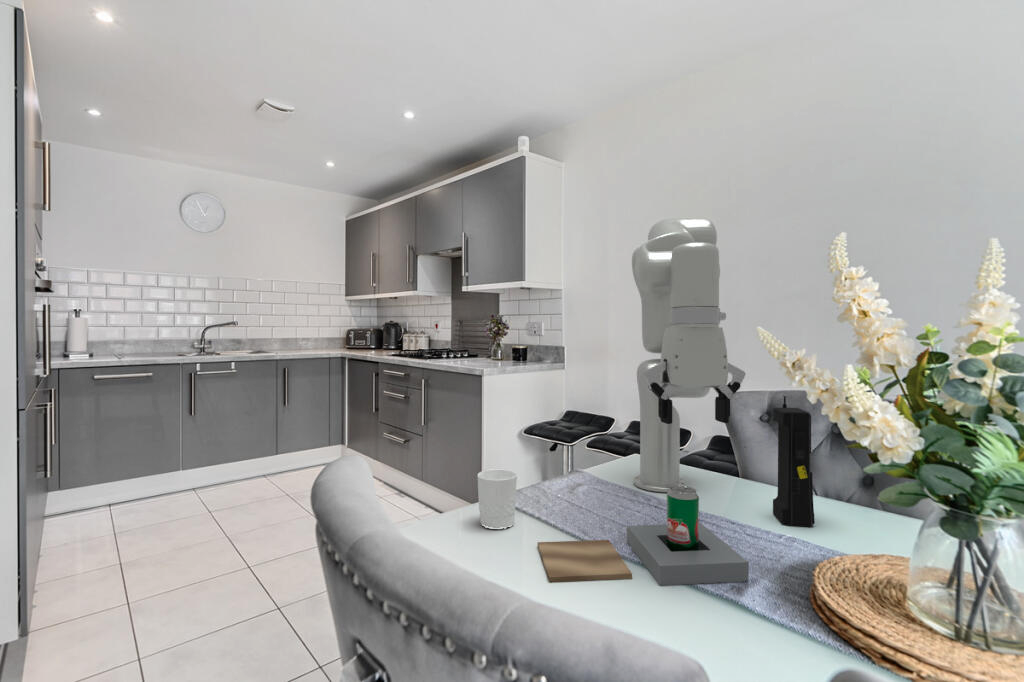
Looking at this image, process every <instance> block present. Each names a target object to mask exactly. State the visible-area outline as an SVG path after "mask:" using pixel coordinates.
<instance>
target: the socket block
mask: <svg viewBox="0 0 1024 682" xmlns="http://www.w3.org/2000/svg"><path fill="white" fill-rule="evenodd" d="M627 542H628V543H629V544H630V546H631V547H632V548H631V547H630V546H629V547H630V548H631V550H632V549H633V550H634V551H633V550H632V551H633V552H634V554H635V553H636V554H637V555H636V554H635V555H636V556H637V558H638V559H639V558H640V559H641V560H640V559H639V560H640V562H641V563H642V562H643V563H642V564H643V565H644V567H645V569H647V570H648V572H649V573H650V575H651V576H652V577H653V578H654V579H655V581H656V582H657V584H658V585H659V586H677V585H678V586H680V585H681V586H683V585H685V586H686V585H699V583H707V584H719V583H718V582H729V583H743V581H744V583H746V582H745V581H749V576H750V575H749V574H750V572H749V569H750V568H749V561H748V560H747V559H745V558H744V557H743V556H742V555H740V554H739V553H738V552H737V551H736V550H735V549H733V548H732V547H731V546H729V545H728V544H727V543H726V542H725V541H723V540H722V539H720V538H719V537H718V536H717V535H716V534H714V532H712V531H711V530H709V528H707V527H706V526H704V525H703V524H702V523H701V522H700V523H699V551H676V552H671V551H670V550H669V549H668V547H667V524H645V525H644V524H643V525H626V543H627ZM628 543H627V544H628ZM629 544H628V545H629ZM716 582H717V583H716Z"/></svg>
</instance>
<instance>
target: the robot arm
mask: <svg viewBox="0 0 1024 682" xmlns="http://www.w3.org/2000/svg"><path fill="white" fill-rule="evenodd" d="M717 240H718V235H717V229H716V226H715V224H714V223H713V222H712V220H710V219H708V218H705V217H692V218H691V217H690V218H689V217H687V218H685V217H684V218H666V219H661V220H659V221H657V222H655V224H653V225H652V226H651V228H650V229H649V232H648V235H647V241H645V242H643V243H642V244H641V245H640V246H638V247H637V248H636V249H634V251H633V252H632V255H631V271H632V276H633V279H634V282H635V285H636V288H637V290H638V293H639V296H640V301H641V302H640V303H641V333H642V335H641V337H642V345H643V348H644V350H645V352H646V351H647V352H648V353H651V354H660V358H651V359H647V360H644V361H642V362H641V363H640V364H638V366H637V370H636V383H637V387H638V388H637V390H638V397H639V424H640V425H639V426H640V427H639V430H640V431H639V434H640V435H639V436H640V437H639V439H640V440H639V442H640V443H639V450H640V451H639V453H640V454H639V475H637V476H635V477H633V485H635V487H637V488H640V489H641V490H645V491H649V492H656V493H668V492H669V491H670V490H669V488H670V487H672V486H687V482H686V481H685V480H684V479H682V478H680V474H681V473H680V462H681V461H680V454H681V452H680V451H681V450H680V449H681V446H680V445H681V443H680V440H681V437H680V435H681V434H680V433H681V428H680V427H681V424H680V423H681V422H680V421H681V418H680V414H679V412H678V410H677V409H676V407H675V406H674V405H673V400H672V399H677V398H680V399H681V398H683V399H685V398H687V399H698V398H700V399H701V398H705V397H706V396H707V395H708V394H709V392H710V390H711V388H712V389H713V390H714V391H715V392H716V393H717V395H718V396H715V399H714V404H715V405H714V419H715V421H717V422H720V423H722V424H728V423H729V422H730V417H731V399H733V398H734V397H735V394H736V392H738V391H739V390H740V388H741V384H742V383H743V381H744V379H745V377H746V372H745V371H744V370H742V369H741V368H739V367H737V366H735V365H733V364H731V363H729V361H728V350H727V342H726V338H725V333H724V332H725V331H724V329H723V327H720V324H721V322H722V321H725V320H726V318H727V313H726V312H725V311H724V312H723V311H721V308H720V277H721V266H720V251H719V248H718V246H717ZM729 374H730V375H732V378H731V381H730V382H728V379H729Z"/></svg>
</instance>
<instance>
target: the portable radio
mask: <svg viewBox="0 0 1024 682" xmlns="http://www.w3.org/2000/svg"><path fill="white" fill-rule="evenodd" d="M782 397H783V403H782V407H774V408H773V420H772V421H774V422H776V423H777V425H778V426H777V428H778V429H777V435H778V436H777V437H778V438H777V496H776V498H772V514H773V516H774V517H775V518H776V519H777V520H778V521H779V523H780V524H781V525H786V526H793V527H804V528H805V527H808V528H811V527H813V525H815V522H816V521H815V510H814V489H813V485H814V484H813V472H811V454H812V415H811V413H810V412H809V411H806V410H804V409H801V408H799V407H788V405H787V403H786V401H787V400H786V397H787V395H783V396H782Z"/></svg>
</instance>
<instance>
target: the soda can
mask: <svg viewBox="0 0 1024 682" xmlns="http://www.w3.org/2000/svg"><path fill="white" fill-rule="evenodd" d="M669 490H670V491H669V492H666V525H667V547H668V549H669V550H670V551H671V552H676V551H699V522H700V515H699V513H700V504H699V502H700V496H699V495H698V493H697V489H696V488H694V487H691V486H687V485H686V486H672V487H670V488H669Z"/></svg>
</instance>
